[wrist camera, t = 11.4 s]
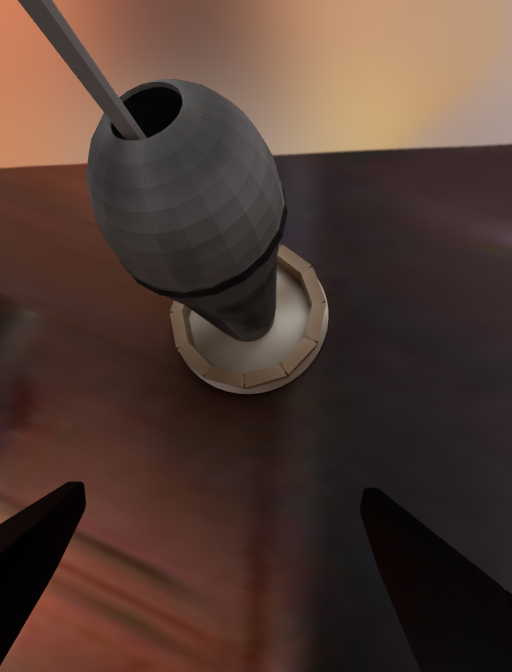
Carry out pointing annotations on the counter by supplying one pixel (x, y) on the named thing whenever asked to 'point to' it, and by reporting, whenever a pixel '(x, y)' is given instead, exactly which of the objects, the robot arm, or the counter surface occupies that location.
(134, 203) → the beverage cup
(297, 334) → the ring holder
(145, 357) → the counter surface
